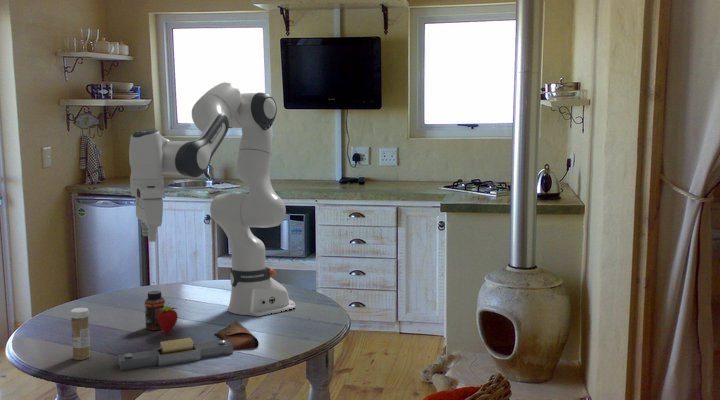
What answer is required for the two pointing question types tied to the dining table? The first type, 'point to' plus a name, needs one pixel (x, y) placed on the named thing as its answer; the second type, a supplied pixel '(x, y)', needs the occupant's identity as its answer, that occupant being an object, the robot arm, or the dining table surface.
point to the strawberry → (167, 318)
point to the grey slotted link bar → (174, 355)
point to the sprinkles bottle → (80, 333)
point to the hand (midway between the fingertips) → (149, 238)
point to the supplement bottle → (153, 309)
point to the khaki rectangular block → (176, 345)
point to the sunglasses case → (238, 336)
